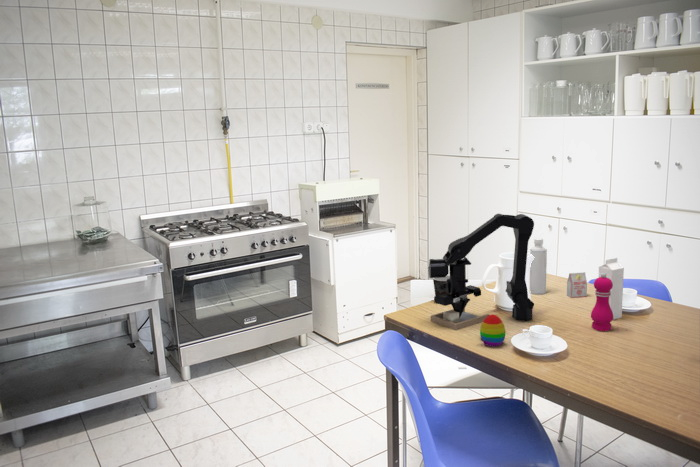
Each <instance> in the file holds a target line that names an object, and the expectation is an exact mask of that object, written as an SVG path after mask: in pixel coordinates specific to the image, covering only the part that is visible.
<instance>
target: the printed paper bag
mask: <svg viewBox="0 0 700 467" xmlns="http://www.w3.org/2000/svg"><path fill="white" fill-rule="evenodd" d="M587 292H588V281H587V276H586V272H573V273H572V272H570V273H568V278H567V282H566V296H567V297H569V298H570V299H575V298H577V299H578V298H579V299H580V298H587V296H588V293H587Z"/></svg>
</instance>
